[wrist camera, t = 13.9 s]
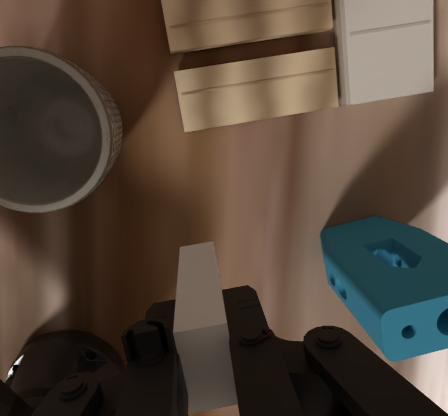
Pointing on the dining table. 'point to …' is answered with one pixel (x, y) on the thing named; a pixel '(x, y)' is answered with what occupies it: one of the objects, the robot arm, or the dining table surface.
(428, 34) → the floor board
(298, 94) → the plank
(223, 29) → the plank
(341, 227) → the block
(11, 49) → the planter
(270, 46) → the dining table surface
